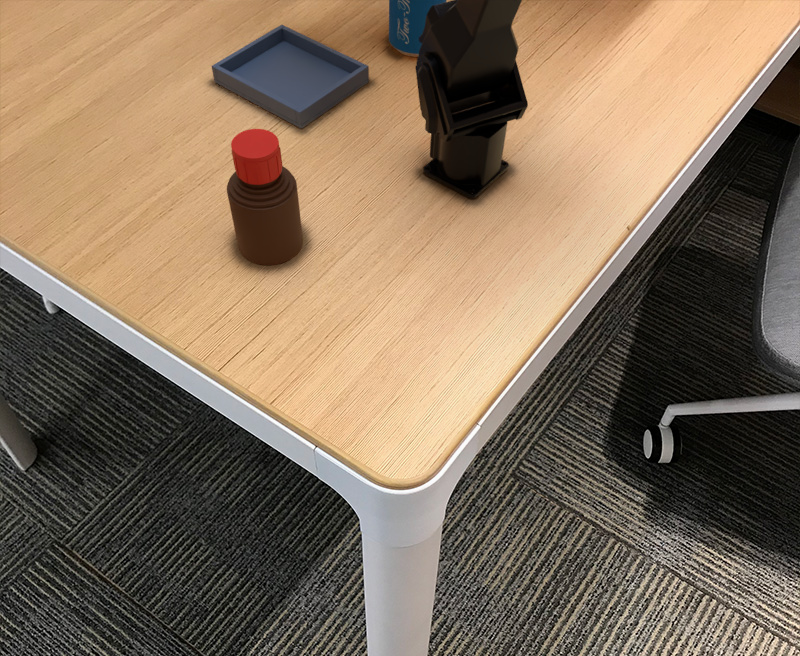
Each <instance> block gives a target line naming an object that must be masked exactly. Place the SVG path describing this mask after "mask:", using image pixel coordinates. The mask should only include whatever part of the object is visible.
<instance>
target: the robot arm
mask: <svg viewBox="0 0 800 656" xmlns="http://www.w3.org/2000/svg"><path fill="white" fill-rule="evenodd" d="M522 1H523V0H449V1H446V2H445V3H441V4H437V5H433V6H431V8H430V10H429V11H428V13H427V15H426V22H425V27H424V31H423V33H422V35H421V36H420V37H419V42H421V43H422V45H421V48H420V50H419V56H418V57H417V58H416V63H415V77H416V84H417V92H418V101H419V108H420V112H421V117H422V118H423V119H424V120H425V122H424V123H425V125H424V126H425V127H424V130H425V131H426V133H428V134H430V141H429V142H430V143H429V158H430V159H431V160H430V161H429V162H427V163H426V164H425V165H424V166H423V167H422V173H423V174H424V175H425V176H427V177H429V178H430V179H432V180H435V181H436V182H439V183H440V184H442V185H444V186H446V187H448V188H449V189H452V190H454V191H456V192H458V193H460V194H461V195H463V196H465V197H467V198H469V199H476V198H477V197H478V196H479V195H481V194H482V193H483V192H484V191H485V190H486V189H487V188H489V186H491V185H492V184H493V183H494V182H495V181H496V180H497V179H499V178H500V177H501V176H502V175H504V173H505V172H506V171H508V170H509V167H510V163H509V162H508V161H507V160H504V159H503V156H504V155H503V154H504V148H505V141H506V135H507V129H508V123H509V122H511V121H514V120H516V121H518V120H521V119H522V118H523V116H524V115H525V112H526V110H527V108H528V105H529V103H528V99H527V95H526V92H525V88H524V85H523V81H522V78H521V74H520V71H519V70H520V69H519V66H518V63H517V56H518V52H519V45H518V42H517V38H516V35H515V32H514V29H513V22H514V20H515V17H516V16H517V13H518V10H519V8H520V6H521V3H522Z"/></svg>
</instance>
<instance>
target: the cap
mask: <svg viewBox="0 0 800 656" xmlns="http://www.w3.org/2000/svg"><path fill="white" fill-rule="evenodd" d="M230 148H231V151H230V152H231V156H232V161H233V167H234V170H235V171H236V174H237V176H238V178H240V179H241V180H242V181H244V182H246V183H248V184H254V185H261V184H266V183H269V182H272V181H274V180H275V179H277V178H278V177H279V175H280V174H281V172H282V167H284V166H283V159H282V158H283V157H282V151H281V150H282V149H281V147H280V142H279V138H278V136H277V135H276V134H275V133H273V132H272V131H271V130H268V129H264V128H249V129H246V130H243V131H241V132H239V133H237V134H236V135H235V136H234V137H232V140H231V142H230Z"/></svg>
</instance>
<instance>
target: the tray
mask: <svg viewBox="0 0 800 656" xmlns="http://www.w3.org/2000/svg"><path fill="white" fill-rule="evenodd" d="M211 71H212V76H213V81H214V83H215V84H217V85H219V86H220V87H223V88H225V89H226V90H228V91H230V92H232V93H233V94H236V95H238V96H239V97H241V98H243V99H245V100H247V101H249V102H251V103H252V104H254V105H255V106H257V107H259V108H261V109H264V110H265V111H267V112H269V113H271V114H273V115H274V116H277V117H278V118H280V119H282V120H284V121H286V122H287V123H289V124H291V125H293V126H295V127H297V128H299V129H301V130H302V129H304V128H305V127H307V126H308V125H309V124H311V123H312V122H314V121H315V120H316V119H318V118H319V117H321V116H323V115H324V114H325V113H327V112H328V111H330V110H331V109H333V108H334V107H335V106H337V105H339V104H340V103H341V102H343V101H344V100H345V99H347V98H349V97H350V96H351V95H353V94H354V93H356V92H358V91H359V90H360V89H361V88H362V87H364V86H366V85H367V84H369V82H370V68H369V65H367V64H366V63H363V62H362V61H359V60H358V59H355V58H352V57H351V56H349V55H347V54H345V53H343V52H340V51H338V50H336V49H334V48H332V47H330V46H328V45H326V44H324V43H322V42H320V41H318V40H316V39H314V38H311V37H309V36H307V35H305V34H303V33H301V32H299V31H297V30H294V29H292V28H290V27H288V26H286V25H284V24H280V25H278V26H276V27H275V28H273V29H272V30H270V31H267V32H266V33H265V34H263V35H262V36H260V37H258V38H256V39H255V40H253V41H250V42H249V43H248V44H246V45H244V46H242V47H241V48H239V49H238V50H236V51H234V52H233V53H231V54H229V55H228V56H226V57H224V58H222V59H220V60H219V61H217V62H215V63H214V64H212V65H211Z"/></svg>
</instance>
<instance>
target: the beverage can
mask: <svg viewBox="0 0 800 656" xmlns="http://www.w3.org/2000/svg"><path fill="white" fill-rule="evenodd" d="M445 2H447V0H388V42H389V43H390V45H391V46H392V47H393V48H394V49H396V50H397V52H399V53H400V54H402V55H405V56H407V57H412V58H418V56H419V50H420V48H421V45H422V43H421V42H419V37H420V36H421V35H422V33H423V31H424V27H425V22H426V15H427V13H428V11H429V10H430V8H431V6H433V5H437V4H441V3H445Z"/></svg>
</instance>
